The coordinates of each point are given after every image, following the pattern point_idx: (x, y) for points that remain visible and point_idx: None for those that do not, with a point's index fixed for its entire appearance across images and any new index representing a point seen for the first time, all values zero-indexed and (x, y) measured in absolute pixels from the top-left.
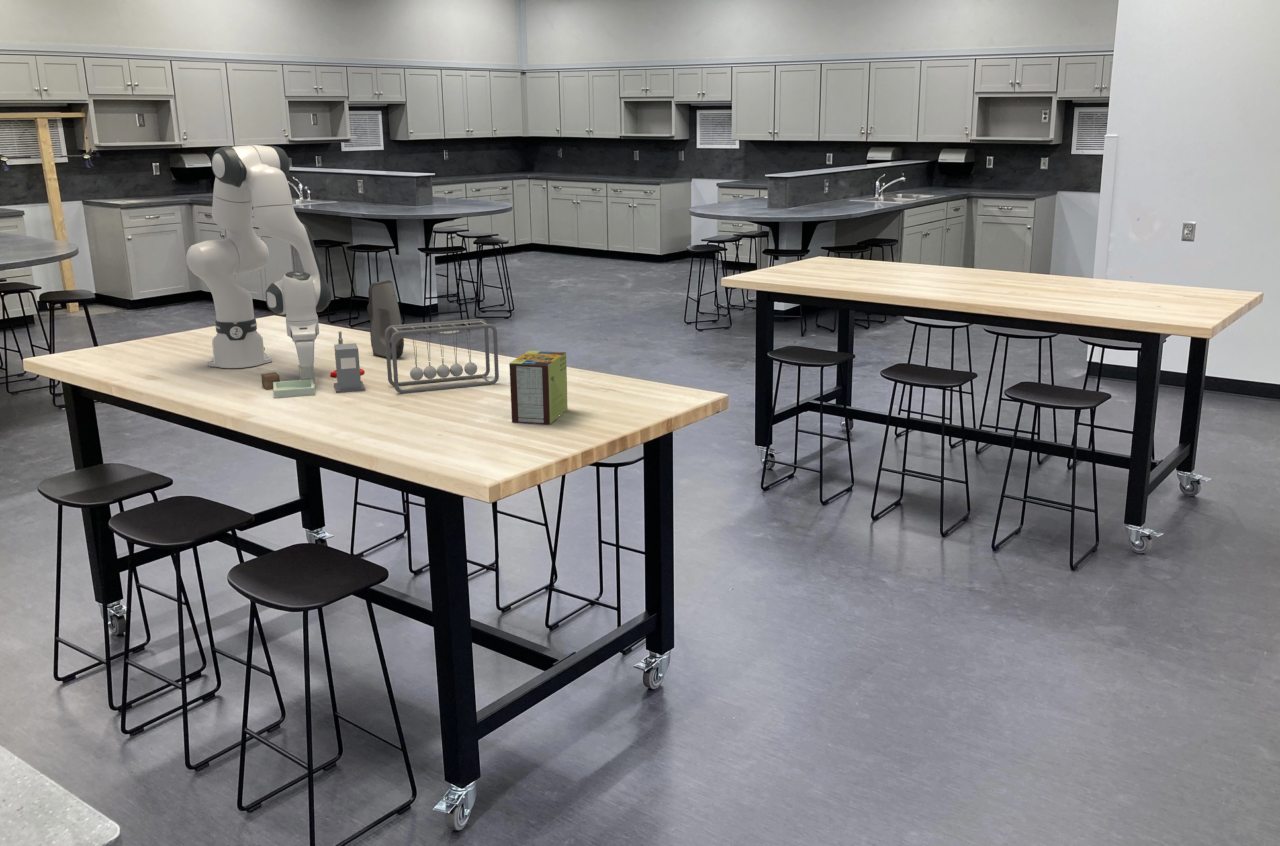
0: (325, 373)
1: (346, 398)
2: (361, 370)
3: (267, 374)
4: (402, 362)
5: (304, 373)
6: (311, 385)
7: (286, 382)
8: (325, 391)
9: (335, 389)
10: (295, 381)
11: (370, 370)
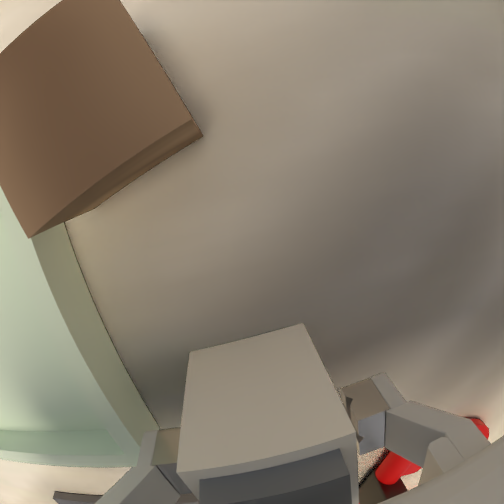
0: (484, 379)
1: (10, 496)
2: None
3: (44, 65)
4: None
5: (139, 464)
6: (5, 451)
7: (37, 296)
8: (64, 468)
9: (71, 500)
10: (69, 369)
11: None
